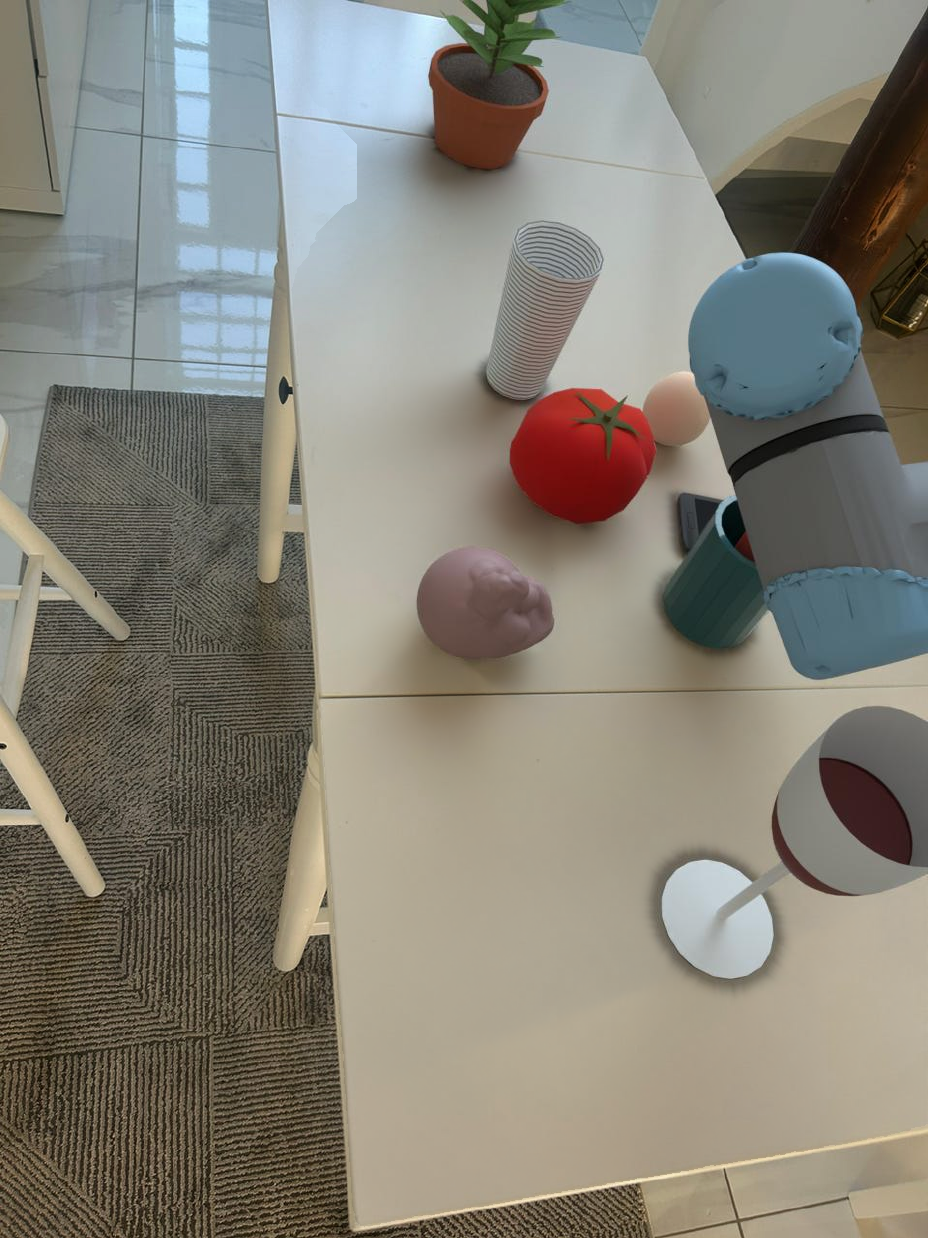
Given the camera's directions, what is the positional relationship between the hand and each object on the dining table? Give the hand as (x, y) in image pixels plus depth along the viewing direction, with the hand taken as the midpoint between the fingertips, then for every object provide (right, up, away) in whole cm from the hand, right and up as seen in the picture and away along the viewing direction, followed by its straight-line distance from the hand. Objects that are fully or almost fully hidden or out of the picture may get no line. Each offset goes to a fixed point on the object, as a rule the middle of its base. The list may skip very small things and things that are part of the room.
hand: (804, 496), depth 79 cm
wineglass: (-9, -32, -8) cm, 34 cm away
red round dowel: (-4, -5, +2) cm, 6 cm away
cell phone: (0, -2, +15) cm, 15 cm away
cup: (-23, +14, +21) cm, 34 cm away
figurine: (-27, -11, +1) cm, 29 cm away
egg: (-7, +9, +21) cm, 24 cm away
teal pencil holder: (-6, -9, +9) cm, 14 cm away
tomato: (-18, +2, +13) cm, 22 cm away
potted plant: (-27, +50, +44) cm, 72 cm away
